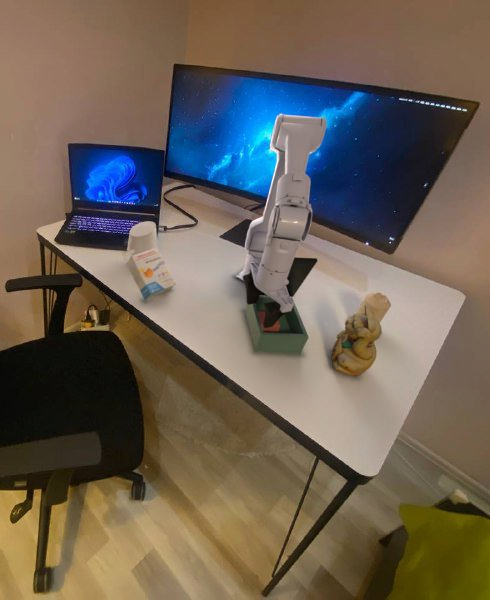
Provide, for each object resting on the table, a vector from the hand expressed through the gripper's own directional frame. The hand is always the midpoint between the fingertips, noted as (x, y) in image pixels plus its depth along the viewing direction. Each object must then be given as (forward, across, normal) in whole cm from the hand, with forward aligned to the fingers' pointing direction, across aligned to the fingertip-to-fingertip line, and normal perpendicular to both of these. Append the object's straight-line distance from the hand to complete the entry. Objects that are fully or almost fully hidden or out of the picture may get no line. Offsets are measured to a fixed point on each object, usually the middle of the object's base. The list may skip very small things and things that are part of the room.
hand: (259, 314), depth 77 cm
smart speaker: (+9, +36, +18) cm, 41 cm away
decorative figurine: (+9, -12, -18) cm, 23 cm away
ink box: (+7, +20, +17) cm, 27 cm away
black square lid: (-4, +6, -8) cm, 11 cm away
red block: (+6, -1, -3) cm, 7 cm away
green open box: (+9, +2, -6) cm, 11 cm away
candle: (+9, -2, -30) cm, 32 cm away
